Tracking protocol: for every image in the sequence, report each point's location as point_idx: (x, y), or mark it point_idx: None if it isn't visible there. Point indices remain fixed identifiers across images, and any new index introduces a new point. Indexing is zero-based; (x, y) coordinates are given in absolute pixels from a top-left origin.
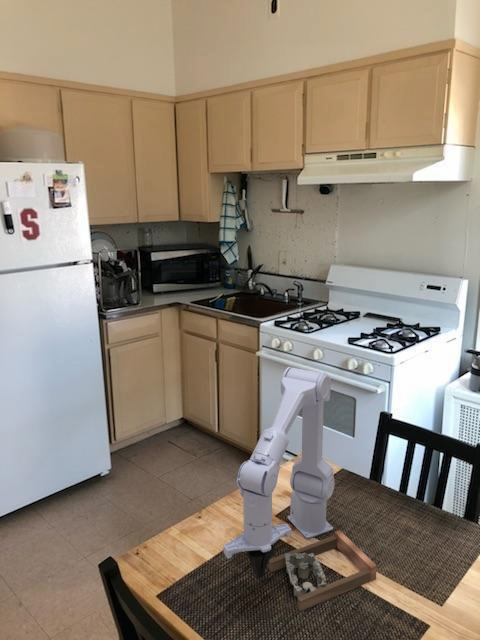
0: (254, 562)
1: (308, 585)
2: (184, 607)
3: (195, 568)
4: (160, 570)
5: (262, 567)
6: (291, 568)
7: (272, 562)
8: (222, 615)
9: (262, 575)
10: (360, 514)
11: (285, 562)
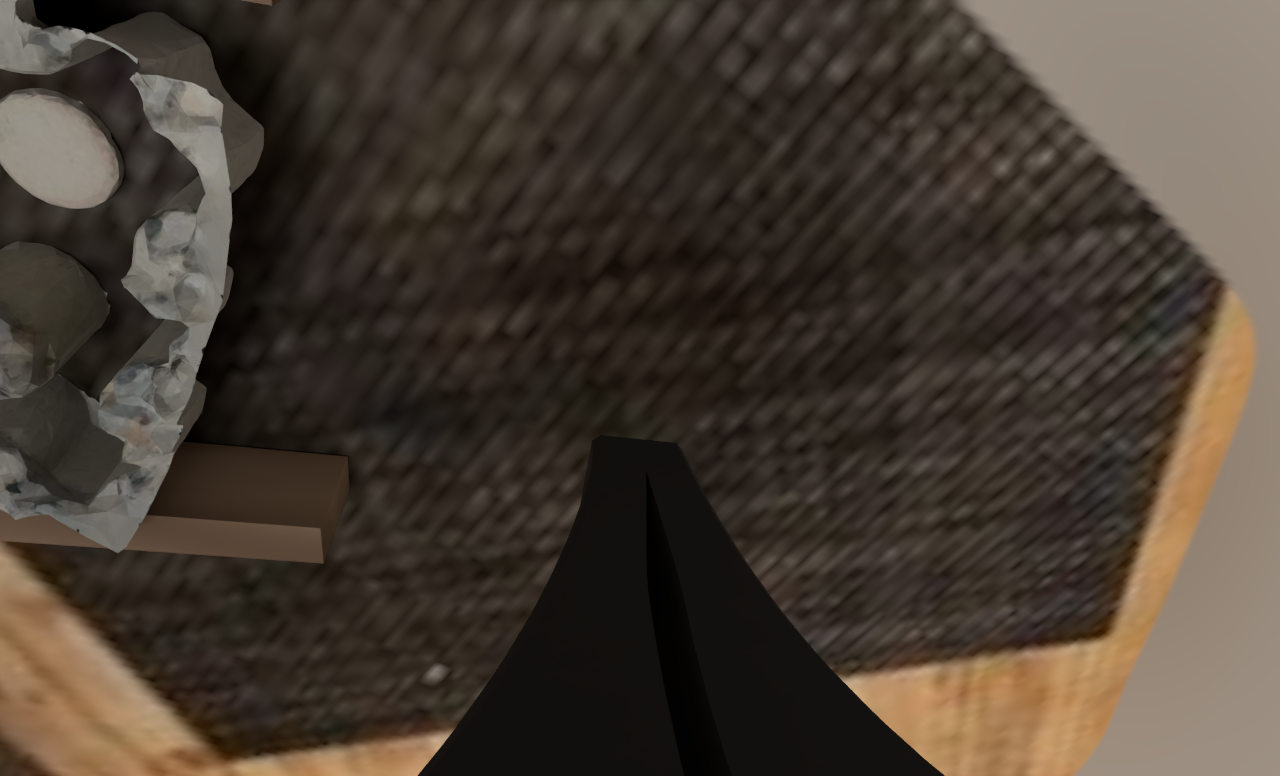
0: (898, 737)
1: (41, 150)
2: (1079, 509)
3: None
4: (946, 738)
5: (646, 558)
6: (139, 389)
7: (302, 526)
8: (963, 328)
9: (619, 452)
10: None
11: (169, 475)
